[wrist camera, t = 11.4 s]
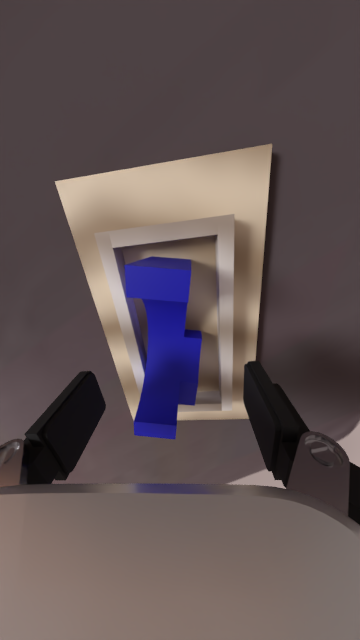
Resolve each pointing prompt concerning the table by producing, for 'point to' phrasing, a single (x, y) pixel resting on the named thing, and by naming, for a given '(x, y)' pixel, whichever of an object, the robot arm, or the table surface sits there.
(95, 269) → the clip cradle
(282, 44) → the table surface
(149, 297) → the blue curved piece
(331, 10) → the table surface
